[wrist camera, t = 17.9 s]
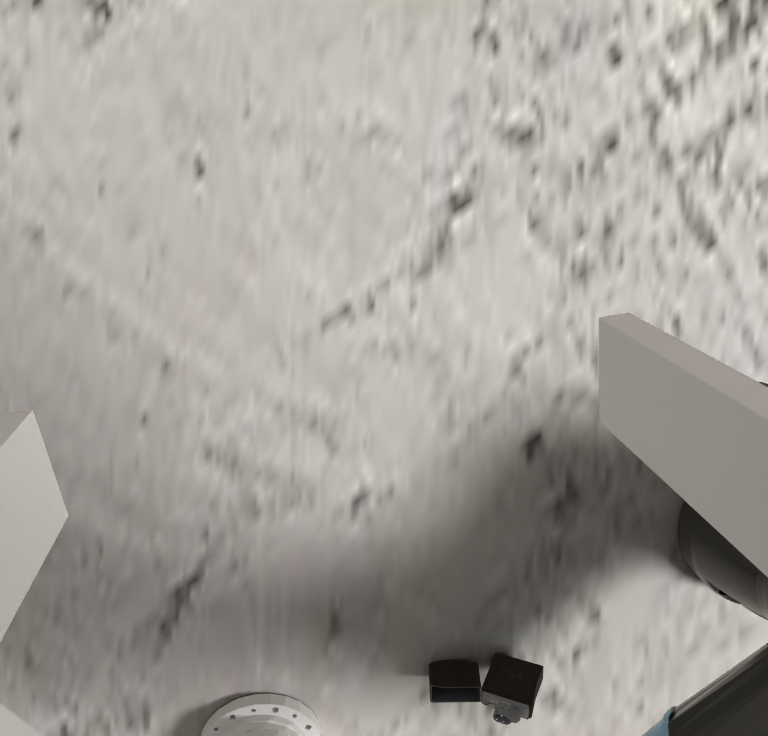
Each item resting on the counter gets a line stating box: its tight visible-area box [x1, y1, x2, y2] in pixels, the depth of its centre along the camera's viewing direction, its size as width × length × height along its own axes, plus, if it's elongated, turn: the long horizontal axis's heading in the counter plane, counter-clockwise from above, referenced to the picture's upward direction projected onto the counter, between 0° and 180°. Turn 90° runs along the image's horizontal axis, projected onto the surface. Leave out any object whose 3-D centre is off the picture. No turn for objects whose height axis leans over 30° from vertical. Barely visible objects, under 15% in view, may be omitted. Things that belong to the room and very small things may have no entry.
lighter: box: [429, 653, 543, 725], centre depth 55 cm, size 9×2×6 cm
